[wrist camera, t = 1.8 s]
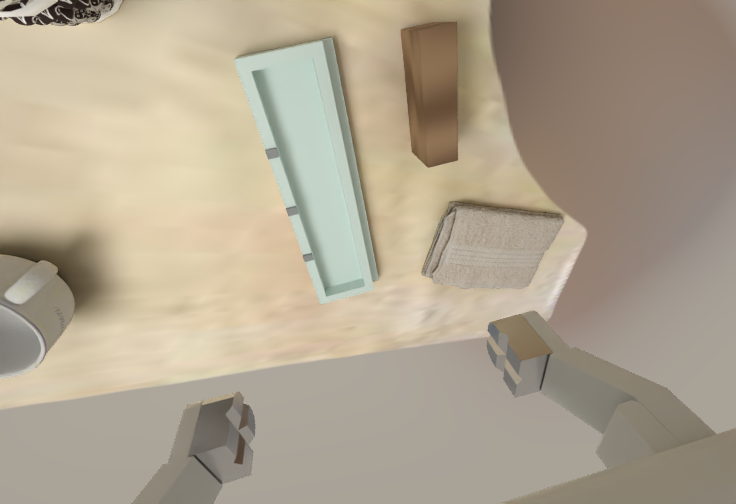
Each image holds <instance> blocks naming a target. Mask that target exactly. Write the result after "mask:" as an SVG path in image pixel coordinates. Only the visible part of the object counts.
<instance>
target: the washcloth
mask: <svg viewBox="0 0 736 504" xmlns="http://www.w3.org/2000/svg"><path fill="white" fill-rule="evenodd" d="M563 223H564V221H563V218H562V217H561V216H560V214H558V215H557V214H549V213H546V212H545V213H541V212H530V211H525V210H524V211H522V210H519V209H518V210H515V209H512V208H511V209H505V208H499V209H498V208H493V207H484V206H480V205H479V206H476V205H472V204H465V203H458V202H455V201H454V202H449V208H448V211H446V212H445V214H444V215H443V216H442V218H441V220H440V222H439V224H438V227H437V229H436V232H435V235H434V238H433V242H432V245H431V247H430V249H429V252H428V254H427V257H426V260H425V263H424V266H423V269H422V275H424V276H426V277H430V278H433V282H434V283H435V284H441V285H442V284H444V285H452V286H458V287H460V288H462V289H468V288H491V289H493V288H495V289H499V288H512V289H513V288H514V289H522V288H525V287H527V286H528V285H529V284H530V283H531V280H532V278H533V276H534V274H535V272H536V270H537V268H538V264H539V262H540V260H541V259H542V256H543V255H544V252H545V251H546V250H548V249H549V247H550V245H551V244H552V242H553V241H554V239H555V237H556V235H557V234H558V232H559V230H560V228H561V226H562V224H563Z"/></svg>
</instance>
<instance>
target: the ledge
mask: <svg viewBox="0 0 736 504" xmlns="http://www.w3.org/2000/svg"><path fill="white" fill-rule="evenodd" d="M234 63H235V66H236V69H237V71H238V74H239V77H240V80H241V83H242V85H243V88H244V91H245V94H246V97H247V99H248V102H249V105H250V108H251V111H252V114H253V116H254V119H255V122H256V125H257V128H258V130H259V133H260V136H261V139H262V142H263V144H264V147H265V151H266V154H267V157H268V160H269V161H270V164H271V167H272V170H273V172H274V175H275V178H276V181H277V184H278V187H279V189H280V192H281V195H282V198H283V201H284V203H285V206H286V210H287V213H288V216H289V217H290V220H291V223H292V226H293V229H294V231H295V234H296V237H297V240H298V243H299V246H300V248H301V251H302V254H303V258H304V261H305V262H306V265H307V268H308V271H309V274H310V276H311V279H312V282H313V285H314V288H315V290H316V293H317V296H318V299H319V302H320V304H324V303H328V302H331V301H335V300H339V299H342V298H346V297H350V296H353V295H357V294H361V293H365V292H368V291H372V290H374V287H373V281H377V280H379V278H378V273H377V268H376V263H375V258H374V252H373V247H372V242H371V237H370V232H369V226H368V221H367V216H366V211H365V205H364V200H363V195H362V190H361V185H360V179H359V174H358V169H357V164H356V159H355V153H354V148H353V143H352V138H351V133H350V127H349V122H348V117H347V112H346V106H345V101H344V96H343V91H342V86H341V80H340V75H339V70H338V65H337V60H336V54H335V49H334V44H333V39H332V38H331V37H330V38H325V39H321V40H316V41H311V42H306V43H301V44H297V45H292V46H287V47H282V48H278V49H273V50H268V51H263V52H259V53H254V54H249V55H244V56H239V57H236V58H235V59H234Z"/></svg>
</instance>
